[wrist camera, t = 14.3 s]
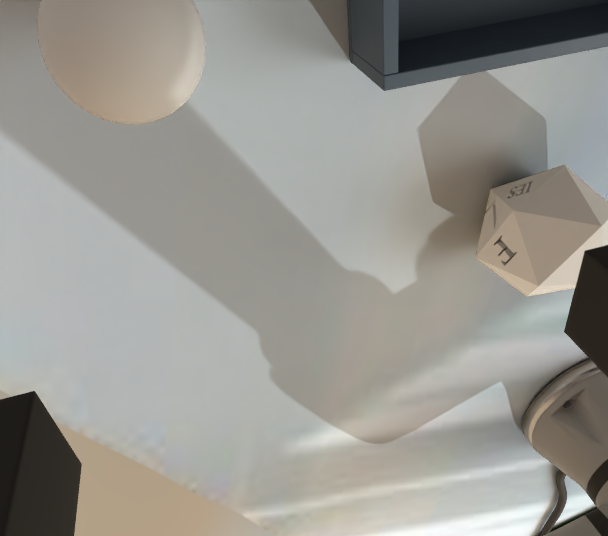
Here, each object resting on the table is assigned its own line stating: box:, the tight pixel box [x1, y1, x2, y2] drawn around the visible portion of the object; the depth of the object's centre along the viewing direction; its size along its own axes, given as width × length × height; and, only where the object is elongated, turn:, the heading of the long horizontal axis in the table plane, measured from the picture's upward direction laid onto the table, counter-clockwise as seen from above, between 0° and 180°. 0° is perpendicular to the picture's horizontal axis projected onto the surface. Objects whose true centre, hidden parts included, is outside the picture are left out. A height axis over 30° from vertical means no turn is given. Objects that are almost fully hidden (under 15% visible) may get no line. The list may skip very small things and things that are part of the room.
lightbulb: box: [37, 0, 206, 124], centre depth 22 cm, size 6×6×11 cm
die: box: [475, 165, 608, 297], centre depth 38 cm, size 8×9×10 cm
